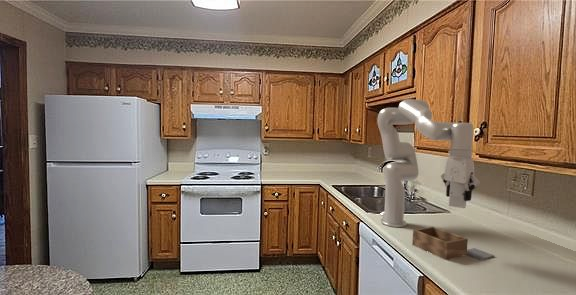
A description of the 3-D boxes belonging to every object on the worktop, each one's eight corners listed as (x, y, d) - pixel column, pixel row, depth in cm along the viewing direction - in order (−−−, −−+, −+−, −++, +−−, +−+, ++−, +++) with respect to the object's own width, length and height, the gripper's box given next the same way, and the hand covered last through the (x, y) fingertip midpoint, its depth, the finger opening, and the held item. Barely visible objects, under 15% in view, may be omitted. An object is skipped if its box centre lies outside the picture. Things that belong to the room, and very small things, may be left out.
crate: (412, 245, 132) (413, 230, 132) (432, 241, 137) (432, 226, 137) (446, 259, 118) (447, 243, 117) (466, 254, 123) (467, 238, 123)
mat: (461, 252, 125) (461, 250, 125) (474, 249, 129) (474, 247, 129) (481, 260, 118) (481, 258, 118) (494, 256, 122) (494, 255, 122)
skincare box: (448, 206, 124) (450, 176, 123) (449, 204, 128) (450, 174, 127) (466, 208, 121) (468, 177, 120) (466, 206, 125) (468, 176, 124)
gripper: (435, 152, 129) (433, 194, 131) (475, 156, 114) (472, 204, 115) (448, 152, 133) (445, 193, 134) (488, 155, 117) (485, 202, 118)
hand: (458, 198), depth 124 cm, fingers closed on skincare box, 7 cm apart
